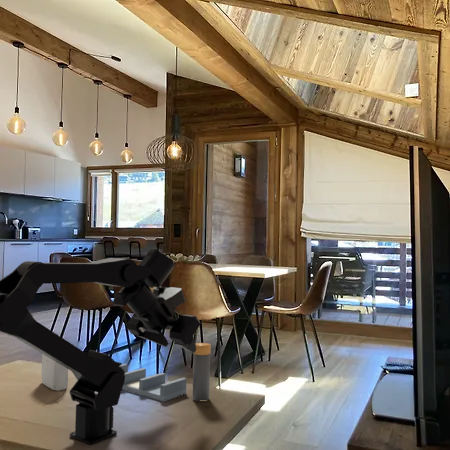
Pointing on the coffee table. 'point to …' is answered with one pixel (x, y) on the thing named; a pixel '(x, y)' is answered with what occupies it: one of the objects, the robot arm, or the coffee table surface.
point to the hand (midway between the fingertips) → (180, 348)
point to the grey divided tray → (152, 385)
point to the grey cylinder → (201, 371)
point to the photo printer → (54, 374)
